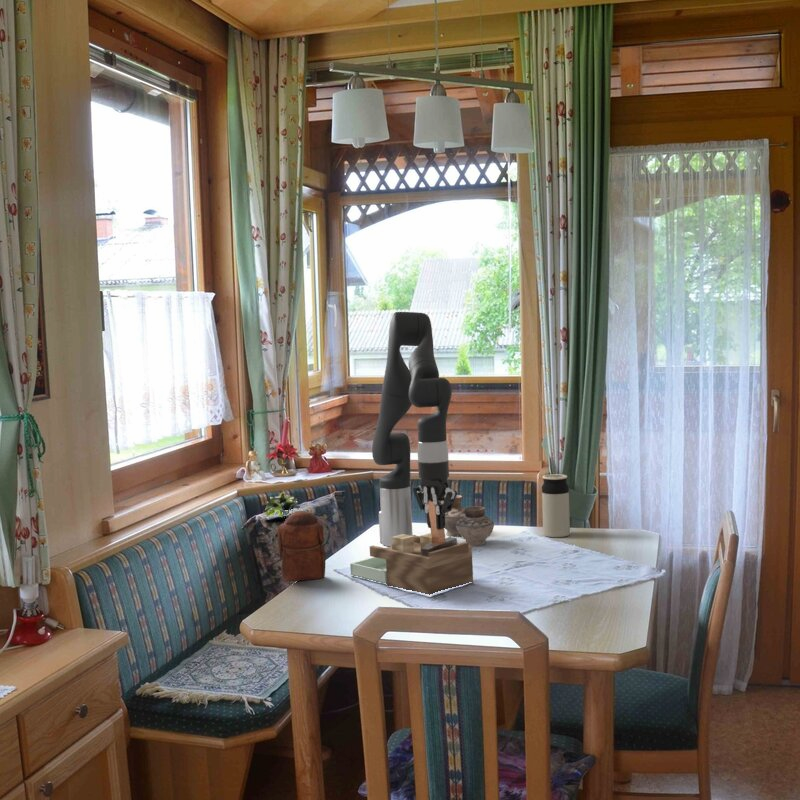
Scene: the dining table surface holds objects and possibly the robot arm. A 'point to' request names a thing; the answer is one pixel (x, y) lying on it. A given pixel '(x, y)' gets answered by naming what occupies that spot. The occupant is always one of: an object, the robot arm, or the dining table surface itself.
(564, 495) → the travel mug
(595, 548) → the dining table surface
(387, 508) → the robot arm
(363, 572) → the sage green tray
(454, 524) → the pottery
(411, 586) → the wooden box
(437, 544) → the scraper
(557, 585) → the dining table surface
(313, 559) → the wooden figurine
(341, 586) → the dining table surface
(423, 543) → the birch block
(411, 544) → the birch block
